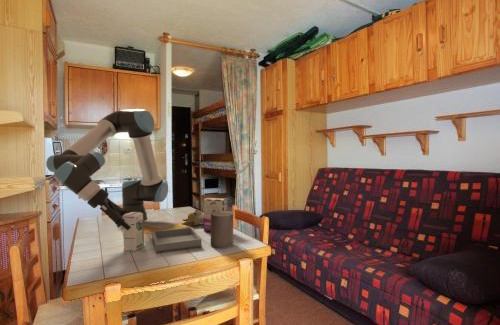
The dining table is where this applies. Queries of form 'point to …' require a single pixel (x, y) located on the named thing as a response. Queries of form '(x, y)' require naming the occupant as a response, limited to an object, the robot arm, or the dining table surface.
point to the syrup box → (138, 239)
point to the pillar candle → (221, 229)
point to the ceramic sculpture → (194, 218)
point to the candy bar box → (212, 210)
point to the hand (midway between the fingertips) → (136, 229)
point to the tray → (176, 240)
